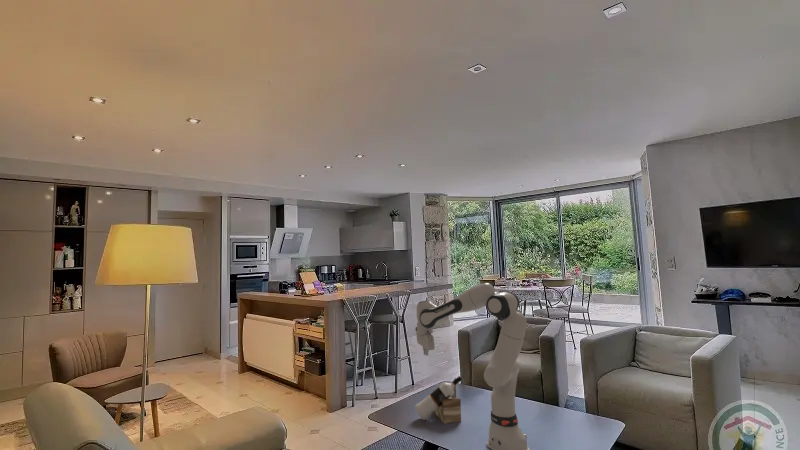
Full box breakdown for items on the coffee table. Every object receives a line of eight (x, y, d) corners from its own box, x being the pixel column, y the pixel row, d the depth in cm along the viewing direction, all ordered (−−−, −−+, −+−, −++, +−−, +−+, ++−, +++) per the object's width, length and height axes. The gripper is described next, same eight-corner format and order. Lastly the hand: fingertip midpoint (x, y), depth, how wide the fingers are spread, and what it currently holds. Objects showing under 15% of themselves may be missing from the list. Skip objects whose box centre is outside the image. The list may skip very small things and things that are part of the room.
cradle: (461, 421, 208) (460, 398, 209) (443, 423, 205) (443, 400, 206) (449, 409, 224) (449, 388, 225) (433, 411, 222) (432, 390, 223)
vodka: (419, 410, 216) (459, 376, 220) (426, 423, 208) (468, 387, 212) (412, 403, 211) (453, 367, 215) (419, 416, 203) (462, 379, 208)
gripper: (436, 332, 205) (437, 358, 204) (424, 326, 225) (425, 350, 224) (425, 333, 204) (426, 359, 202) (414, 327, 223) (415, 351, 222)
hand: (426, 355), depth 213 cm, fingers closed
